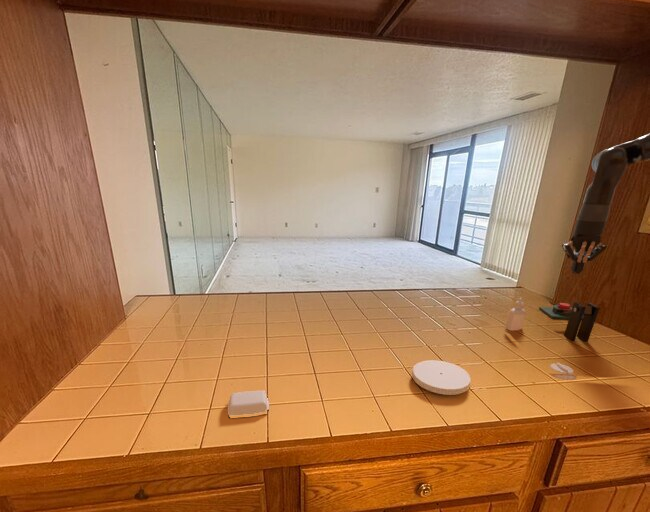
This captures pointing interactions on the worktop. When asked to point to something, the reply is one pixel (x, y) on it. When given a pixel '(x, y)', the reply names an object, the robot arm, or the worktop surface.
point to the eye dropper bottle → (516, 317)
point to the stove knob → (563, 371)
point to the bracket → (585, 324)
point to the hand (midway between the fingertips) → (575, 273)
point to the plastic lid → (441, 377)
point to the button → (564, 306)
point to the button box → (552, 314)
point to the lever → (587, 310)
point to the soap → (248, 402)
